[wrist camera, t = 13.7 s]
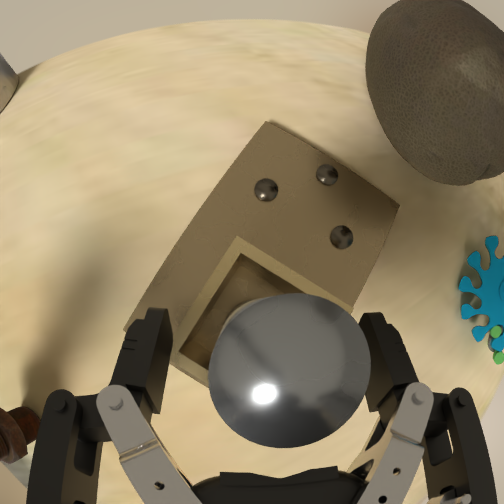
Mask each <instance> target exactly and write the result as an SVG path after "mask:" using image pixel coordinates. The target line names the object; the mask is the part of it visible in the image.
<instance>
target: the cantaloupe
mask: <svg viewBox="0 0 504 504" xmlns="http://www.w3.org/2000/svg"><path fill="white" fill-rule="evenodd" d="M366 80H367V87H368V91H369V95H370V98H371V101H372V103H373V106H374V109H375V112H376V115H377V117H378V119H379V121H380V123H381V125H382V127H383V129H384V132H385V133H386V135H387V137H388V139H389V140H390V142H391V143H392V145H393V146H394V147H395V149H396V150H397V151H398V153H399V154H400V155H401V156H402V157H403V158H404V159H405V160H406V161H407V162H409V163H410V164H411V165H412V166H413V167H414V168H415V169H416V170H418V171H419V172H421V173H422V174H423V175H425V176H427V177H428V178H430V179H432V180H434V181H437V182H440V183H444V184H449V185H457V186H460V185H467V184H471V183H473V182H474V181H476V180H482V179H488V178H492V177H495V176H498V175H500V174H501V173H503V172H504V32H503V31H502V30H500V29H499V28H498V27H497V26H496V25H495V24H494V23H492V22H491V21H490V20H489V19H488V18H486V17H485V16H484V15H483V14H481V13H480V12H479V11H477V10H476V9H475V8H473V7H472V6H471V5H469V4H468V3H466V2H464V1H462V0H400V1H398V2H397V3H395V4H393V5H392V6H391V7H389V8H387V9H386V10H385V11H384V12H383V13H382V14H381V15H380V17H379V18H378V20H377V21H376V23H375V25H374V27H373V29H372V32H371V34H370V38H369V41H368V47H367V53H366Z"/></svg>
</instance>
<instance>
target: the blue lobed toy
mask: <svg viewBox="0 0 504 504" xmlns="http://www.w3.org/2000/svg"><path fill="white" fill-rule="evenodd" d="M498 242H499V241H498V237H497V236H490V237H487V238H486V240H485V246H486V248H487V249H488V251H489V254H490V267H489V269H488V270H483V269H482V268H481V266H480V261H481V256H480V254H479V252H477V251H475V252H473V253H472V254H471V255H470V256H469V257H468V258H467V262H468V264H469V265H470V266H471V267H473V268H474V269H475V270H476V271H477V272H478V273H479V275H480V278H481V281H482V285H481V287H480V288H479V289H475V288H474V287H473V286H472V283H471V280H470V278H469V277H467V276H464V277H463V278H462V280H461V282H460V285H459V290H460V291H462V292H471V293H474V294H475V295H476V296H478V297H479V298H480V299H481V302H482V304H481V307H480V308H479V309H474V308H473V307H472V306H471V305H469V304H463V305H462V308H461V315H462V319H469V318H470V317H471V316H473V315H476V314H485V315H488V317H489V323H488V324H487V325H486V326H475V327H474V328H473V329H472V333H473V336H474V338H475V340H476V341H477V342H479V341H481V340H482V339H483V338H484V336H485V334H486V333H487V332H488V331H489V330H490V335H489V339H488V347H489V349H490V350H491V351H492V352H494V354H493V360H494V361H495V363H496V364H501V363H503V361H504V354H503V352H502V350H503V348H504V256H503V258H502V259H498V258H496V256H495V249H496V247H497V246H498Z"/></svg>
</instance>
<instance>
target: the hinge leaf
mask: <svg viewBox="0 0 504 504" xmlns="http://www.w3.org/2000/svg"><path fill="white" fill-rule="evenodd" d="M399 206H400V205H399V204H398V203H396V202H395V201H394V200H392V199H391V198H390V197H388V196H387V195H385V194H384V193H383V192H381V191H380V190H378V189H377V188H376V187H374V186H373V185H371V184H370V183H368V182H367V181H366V180H364V179H363V178H361V177H360V176H358V175H357V174H355V173H354V172H352V171H351V170H349V169H348V168H346V167H344V166H343V165H341V164H340V163H338V162H337V161H335V160H333V159H332V158H330V157H329V156H327V155H325V154H324V153H322V152H320V151H319V150H317V149H315V148H314V147H312V146H310V145H309V144H307V143H305V142H303V141H302V140H300V139H298V138H296V137H295V136H293V135H291V134H289V133H287V132H286V131H284V130H282V129H280V128H278V127H276V126H274V125H272V124H271V123H269V122H267V121H265V123H264V124H263V125H262V126H261V128H260V129H259V130H258V131H257V133H256V134H255V135H254V136H253V138H252V139H251V140H250V142H249V143H248V144H247V145H246V147H245V148H244V149H243V151H242V152H241V153H240V155H239V156H238V157H237V158H236V160H235V161H234V162H233V164H232V165H231V166H230V168H229V169H228V170H227V172H226V173H225V175H224V176H223V177H222V179H221V180H220V181H219V183H218V184H217V185H216V187H215V188H214V190H213V191H212V192H211V194H210V195H209V197H208V198H207V199H206V201H205V202H204V204H203V205H202V206H201V208H200V209H199V211H198V212H197V214H196V215H195V217H194V218H193V219H192V221H191V222H190V224H189V225H188V227H187V228H186V230H185V231H184V233H183V234H182V236H181V237H180V239H179V240H178V242H177V243H176V245H175V246H174V248H173V249H172V251H171V252H170V254H169V255H168V257H167V258H166V260H165V261H164V263H163V265H162V266H161V268H160V269H159V271H158V272H157V274H156V276H155V277H154V279H153V280H152V282H151V284H150V285H149V287H148V288H147V290H146V292H145V293H144V295H143V297H142V298H141V300H140V302H139V303H138V305H137V307H136V308H135V310H134V312H133V313H132V315H131V317H130V318H129V320H128V322H127V324H126V325H125V327H124V329H123V330H124V331H125V332H126V333H127V330H128V327H129V326H130V325H131V324H132V323H133V322H134V321H135V320H136V319H144V318H145V315H146V312H147V309H148V308H149V307H157V308H167V309H168V312H169V317H170V322H171V326H172V331H173V346H172V351H171V356H170V361H169V363H170V364H171V365H173V366H174V367H176V368H177V369H179V370H180V371H182V372H183V373H185V374H186V375H188V376H190V377H191V378H193V379H194V380H196V381H198V382H199V383H201V384H203V385H204V386H206V387H208V388H209V382H208V371H209V363H210V359H211V355H212V352H213V349H214V347H215V344H216V342H217V339H218V337H219V335H220V332H221V330H222V327H223V325H224V323H225V320H226V318H227V316H228V314H229V312H230V311H231V310H232V309H233V308H234V307H235V306H236V305H238V304H239V303H241V302H244V301H247V300H253V299H259V298H265V297H271V296H277V295H282V294H292V293H301V294H310V295H315V296H319V297H322V298H325V299H327V300H330V301H332V302H333V303H335V304H337V305H339V306H340V307H342V308H343V309H344V310H346V311H347V312H348V313H349V314H351V313H352V311H353V309H354V308H352V307H353V306H354V304H355V302H356V300H357V298H358V296H359V294H360V292H361V290H362V288H363V286H364V284H365V282H366V280H367V278H368V276H369V274H370V272H371V270H372V268H373V266H374V264H375V262H376V259H377V257H378V255H379V253H380V251H381V248H382V246H383V244H384V242H385V239H386V237H387V235H388V233H389V230H390V228H391V225H392V223H393V221H394V218H395V216H396V213H397V211H398V208H399Z"/></svg>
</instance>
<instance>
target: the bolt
mask: <svg viewBox="0 0 504 504" xmlns="http://www.w3.org/2000/svg"><path fill="white" fill-rule="evenodd" d="M39 426H40V420H39V418H38V416H37V415H36V414H35V413H34V412H33V411H32V410H30V409H28V408H27V407H23V406H22V407H18V408H15V409H13V410H10V411H8V412H6V411H5V410H3V409H2V408H0V461H4V462H6V463H8V464H11V463H13V462H15V461H17V460H19V459H21V458H22V457H24V456H25V455H27V454H28V452H27V445H28V444H30V443H31V442H33V441H35V440H36V439H37V434H38V430H39Z"/></svg>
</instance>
